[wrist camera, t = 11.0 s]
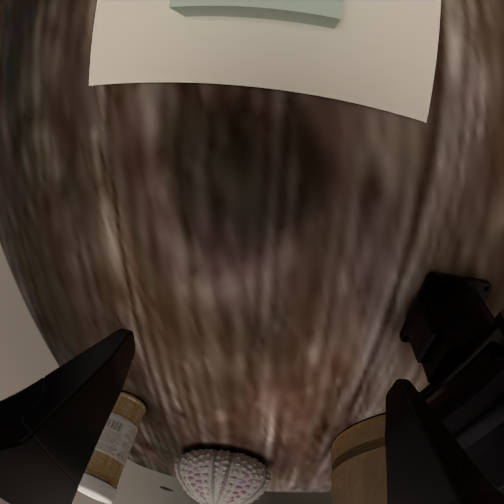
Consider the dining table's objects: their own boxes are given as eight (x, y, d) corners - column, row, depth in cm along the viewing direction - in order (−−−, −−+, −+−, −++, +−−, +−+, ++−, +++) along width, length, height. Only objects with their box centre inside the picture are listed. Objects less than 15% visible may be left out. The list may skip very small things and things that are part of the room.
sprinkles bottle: (111, 401, 34) (72, 489, 22) (114, 384, 32) (68, 481, 20) (144, 416, 34) (111, 507, 23) (150, 401, 32) (113, 502, 20)
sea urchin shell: (291, 465, 37) (288, 514, 30) (230, 480, 43) (222, 521, 36) (217, 431, 34) (205, 488, 27) (162, 450, 39) (149, 494, 32)
